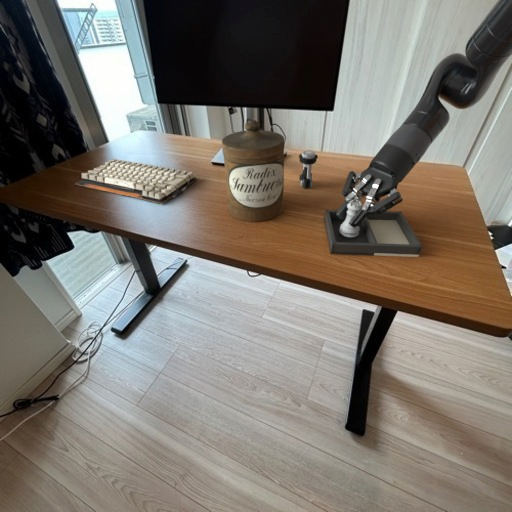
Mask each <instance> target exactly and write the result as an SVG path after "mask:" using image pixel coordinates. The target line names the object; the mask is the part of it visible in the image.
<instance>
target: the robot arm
mask: <svg viewBox="0 0 512 512" xmlns="http://www.w3.org/2000/svg"><path fill="white" fill-rule="evenodd" d="M464 53H465V55H464V54H463V53H461V52H455V53H450V54H449V55H446V56H445V57H444V58H442V59H441V60H440V61H439V63H437V65H436V66H435V67H434V69H433V71H432V72H431V75H430V76H429V79H428V81H427V83H426V86H425V88H424V91H423V93H422V94H421V97H420V99H419V101H418V102H417V104H416V105H415V107H414V108H413V110H412V111H411V112H410V114H409V115H408V116H407V117H406V119H404V121H403V122H402V123H401V125H400V126H399V127H398V128H397V129H396V130H395V131H394V132H393V133H392V134H391V135H390V136H389V138H388V139H387V141H386V142H385V143H384V144H383V145H382V146H381V148H380V149H379V151H378V152H377V153H376V154H375V156H373V158H372V159H371V160H370V163H369V165H368V167H367V168H366V169H365V170H363V171H362V172H355V171H354V170H350V171H349V173H348V174H347V178H346V180H345V182H344V186H343V188H342V190H341V195H342V197H343V198H344V201H343V203H342V204H341V205H340V207H338V209H336V210H337V214H336V216H337V217H338V218H340V219H341V220H342V219H343V218H344V217H345V216H346V214H347V210H348V207H347V204H349V202H350V201H352V200H354V202H356V200H358V201H361V200H363V199H364V198H365V197H366V200H365V201H364V203H363V205H362V209H359V210H358V212H357V213H356V214H355V215H354V217H353V218H352V219H351V220H350V222H349V224H350V225H351V226H352V227H353V228H355V227H356V226H357V227H358V226H359V225H360V224H361V223H362V222H363V221H364V219H365V218H366V217H367V216H368V215H375V216H379V215H381V214H383V213H384V212H386V211H390V210H391V209H393V208H395V206H397V205H399V204H401V203H402V202H403V201H404V197H403V195H402V194H401V192H400V191H398V190H397V189H398V185H399V184H400V183H401V182H403V180H404V179H406V177H407V176H408V174H409V173H410V172H411V171H412V170H413V169H414V167H415V166H416V165H417V163H419V162H420V160H421V159H422V157H423V156H424V155H425V153H426V152H427V151H428V149H429V147H430V146H431V145H432V144H433V142H434V141H435V140H436V139H437V138H438V137H439V135H440V134H441V133H442V132H443V131H444V129H445V128H446V127H447V126H448V124H449V122H450V120H451V119H450V118H451V117H450V116H451V115H450V113H449V111H448V109H447V107H446V106H445V105H444V104H443V103H442V102H441V100H442V101H444V102H445V103H447V104H448V105H450V106H452V107H453V108H455V109H458V110H465V109H466V110H467V109H469V108H471V107H473V106H475V105H477V104H478V103H479V102H480V101H481V100H482V99H483V98H484V97H485V95H487V94H486V93H488V91H489V89H490V88H491V86H492V84H493V82H494V81H495V79H496V78H497V76H498V74H499V72H500V70H501V69H502V67H503V66H504V65H505V63H506V62H507V61H508V60H509V59H510V57H511V56H512V0H497V1H496V3H495V4H494V5H493V6H492V8H491V9H490V10H489V12H488V13H487V14H486V16H485V17H484V18H483V20H482V21H481V22H480V23H479V25H478V26H477V27H476V29H475V30H474V32H473V33H472V34H471V36H470V37H469V38H468V40H467V42H466V45H465V49H464ZM383 197H384V198H383ZM382 198H383V199H382Z"/></svg>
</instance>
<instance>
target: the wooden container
mask: <svg viewBox="0 0 512 512" xmlns="http://www.w3.org/2000/svg"><path fill="white" fill-rule="evenodd" d="M260 128H261V125H260V122H259V121H257V120H256V119H249V120H247V122H245V124H244V129H245V130H241V131H235V132H233V133H230V134H228V135H225V137H223V138H222V140H221V148H222V154H223V155H222V156H223V163H224V173H225V174H224V175H225V188H226V197H227V206H228V211H229V214H231V215H232V216H233V217H234V218H236V219H238V220H241V221H245V222H264V221H268V220H271V219H273V218H275V217H277V216H279V214H281V212H282V211H283V205H284V189H285V188H284V187H285V186H284V185H285V183H284V182H285V173H284V172H285V137H284V136H283V135H282V134H281V133H279V132H275V131H271V130H265V129H264V130H262V129H260Z"/></svg>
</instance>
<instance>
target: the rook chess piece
mask: <svg viewBox="0 0 512 512" xmlns="http://www.w3.org/2000/svg"><path fill="white" fill-rule="evenodd" d="M362 204H363V203H362V201H361V200H356V202H354V200H352V201H350V202H349V204H347V207H348V210H347V216H346V219H345V221H344V222H343V223H342V224H341V226H340V229H339V232H340V234H341V235H342V236H344V237H347V238H354V237H356V236H358V234H359V230H360V228H359V226H358V227H357V226H356V227H355V228H353V227H352V226H351V225H350V224H349V222H350V220H351V219H352V218H353V217H354V215H355V214H356V213H357V212H358V210H359V209H361V210H362V207H363V205H362Z"/></svg>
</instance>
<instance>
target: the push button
mask: <svg viewBox="0 0 512 512" xmlns="http://www.w3.org/2000/svg"><path fill="white" fill-rule="evenodd" d="M318 158H319V157H318V155H317V154H316V152H315V151H313V150H304V151H302V153H300V154H299V155H298V159H299V163H301V164H302V165H303V166H302V173H301V174H299V178H298V180H299V182H300V183H299V184H300V186H301V187H302V186H303V189H306V190H307V189H310V188H312V185H313V178H312V176H313V174H312V166H313V165H314V164H316V163H317V160H318Z"/></svg>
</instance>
